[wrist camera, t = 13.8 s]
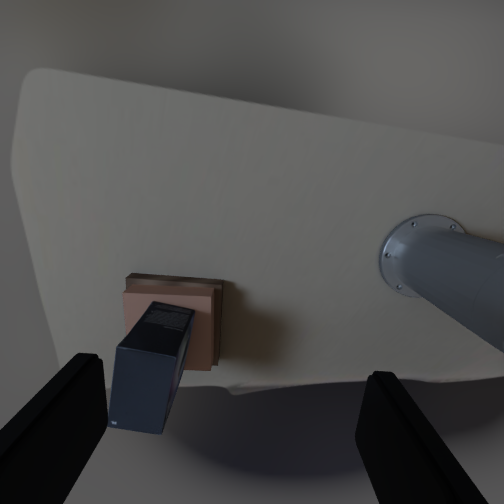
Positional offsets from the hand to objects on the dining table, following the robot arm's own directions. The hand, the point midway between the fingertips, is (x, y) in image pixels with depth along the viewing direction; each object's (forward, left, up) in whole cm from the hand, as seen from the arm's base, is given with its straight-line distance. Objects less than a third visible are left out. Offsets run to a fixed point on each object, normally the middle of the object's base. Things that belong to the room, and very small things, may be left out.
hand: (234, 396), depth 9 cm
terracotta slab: (+10, +15, -28) cm, 33 cm away
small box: (+10, +15, -26) cm, 31 cm away
